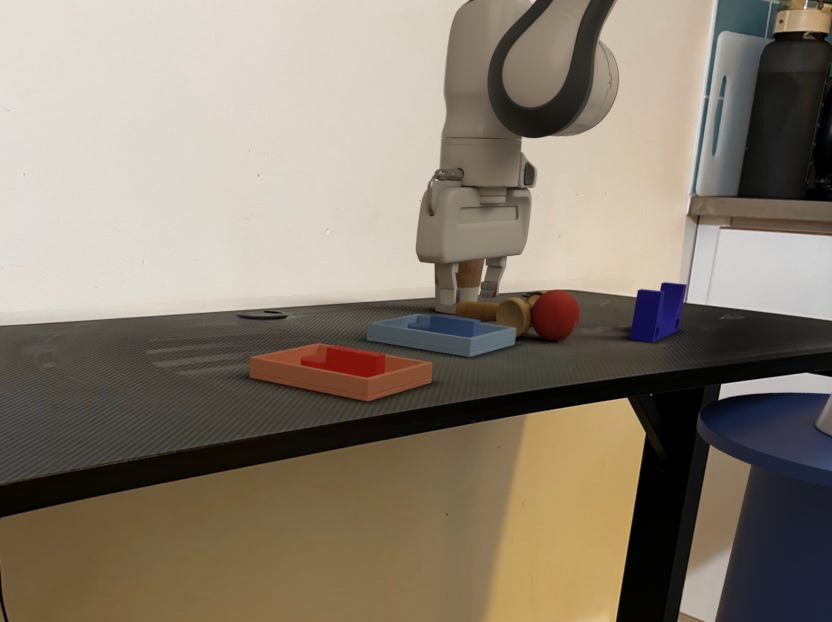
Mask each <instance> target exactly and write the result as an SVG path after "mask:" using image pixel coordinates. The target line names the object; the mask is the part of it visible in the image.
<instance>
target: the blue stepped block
mask: <svg viewBox="0 0 832 622" xmlns="http://www.w3.org/2000/svg"><path fill="white" fill-rule="evenodd" d="M429 316H430V323H409V324H408V327H407V328H408V329H415V330H421V331H428V332H434V333H441V334H448V335H454V336H461V337H467V338H471V337H475V336H479V329H480V323H481V322H480V320H476V319H469V318H462V317H456V315H447V314H442V313H441V314H439V313H435V314H431V315H429Z"/></svg>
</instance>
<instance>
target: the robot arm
mask: <svg viewBox="0 0 832 622" xmlns="http://www.w3.org/2000/svg"><path fill="white" fill-rule="evenodd" d="M617 2H618V0H535V1H534V2H531V1H530V0H467V1H466V2H465V3H463V4H462V5H461V6H460V7H459V8H458V9H457V10H456V12H455V14H454V16H453V19H452V22H451V25H450V29H449V35H448V39H447V46H446V54H445V55H446V56H445V65H444V77H443V90H442V91H443V100H444V104H445V105H444V106H445V117H444V124H443V127H442V130H441V133H440V146H439V147H440V148H439V149H440V150H439V163H438V164H439V165H438V169H436V170H435V171H434V173H433V175H432V176H431V178H430V180H428V183H427V188H426V190H425V191H424V193H423V194H422V198H421V202H420V205H419V212H418V213H419V214H418V220H417V229H416V239H415V253H416V256H417V259H418V261H419V262H420V263H425V264H433V265H434V264H436V270H435V269H434V274H435V273H436V276H437V279H438V283H439V286H440V288H441V290H440V303H441V304H442V305H448V306H452V305H456V304H458V303H459V302H460V291H461V288H457V283H456V276H455V273H458V264H459V262H464V261H473V260H481V259H485V262H484V265H485V267H486V266H487V267H486V270H485V273H484V278H483V281H481V282H480V286H479V296H480V297H481V298H482V299H495V298H497V297H498V296H499V294H500V284H501V283H500V282H501V280H502V278H503V275H504V273H505V271H506V268H507V261H508V257H514V256H520V255H522V254H523V252H524V250H525V248H526V245H527V242H528V238H529V231H530V225H531V224H530V222H531V215H532V204H533V203H532V200H533V198H532V193H531V190H530V189H533V188H535V187H536V184H537V180H538V169H537V168H536V166H535V165H534V164H533V163H532V162H531V161H530V160H529V159H528V158H527V156H526V155H525V153H524V152H522V145H523V144H522V143H523V138H526V139H540V138H541V139H542V138H547V137H556V138H557V137H573V136H578V135H580V134H583V133H585V132H588V131H590V130H592V129H593V128H595V127H596V126H598V125H599V124H600V123H601V122H602V121H603V120H604V119H605V118H606V117H607V115H608V114H609V112H610V111H611V109H612V107H613V105H614V104H615V101H616V98H617V95H618V92H619V86H620V85H619V84H620V73H619V66H618V63H617V59H616V57H615V55H614V54H613V52H612V51H611V49H610V48H609V47H608V46H607V45H606V44H605V43H604V42H603V41H602V40H601V39H600V38H601V34H602V30H603V29H604V26H605V24H606V22H607V21H608V18H609V17H610V14H611V13H612V11H613V10H614V7H615V6H616V4H617ZM830 394H831V395H830V397H829V399H828V401H827V403H826V405H825V406H824V408H823V410H822V412H821V413H820V415H819V417H818V418H817V420H816V421H815V426H816V427H817V428H818V429H819V430H821V431H822V432H824V433H826V434H828V435H830V436H832V392H831V393H830Z"/></svg>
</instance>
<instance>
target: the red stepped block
mask: <svg viewBox="0 0 832 622" xmlns="http://www.w3.org/2000/svg"><path fill="white" fill-rule="evenodd" d="M385 354H386V353H382V352H377V351H369V350H364V349H359V348H353V347H346V346H342V345H333V346H331V347H327V348H326V356H322V355H310V356H304V357H301V365H302V366H307V367H312V368H317V369H323V370H328V371H333V372H339V373H344V374H349V375H355V376H360V377H365V378H368V377H372V376H376V375H380V374H384V373H385Z"/></svg>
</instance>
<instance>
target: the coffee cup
mask: <svg viewBox="0 0 832 622" xmlns="http://www.w3.org/2000/svg"><path fill="white" fill-rule="evenodd" d="M485 261H486V259H481V260H473V261H464V262H459V264H458V273H455V276H456V283H457V288H461V291H460V301H462V300H464V301H472V302H478V298H479V293H480V285H481V282H482V276H483V270H484V265H485ZM433 265H434V271H435V270H436V264H433ZM440 290H441V288H440V286H439V283H438V279H437V276H436V273H435V272H434V311H436V312H438V313H441V314H449V315H450V314H451V315H455V311H456V306H457V304H456V305H452V306H448V305H442V304H441V303H440Z"/></svg>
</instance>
